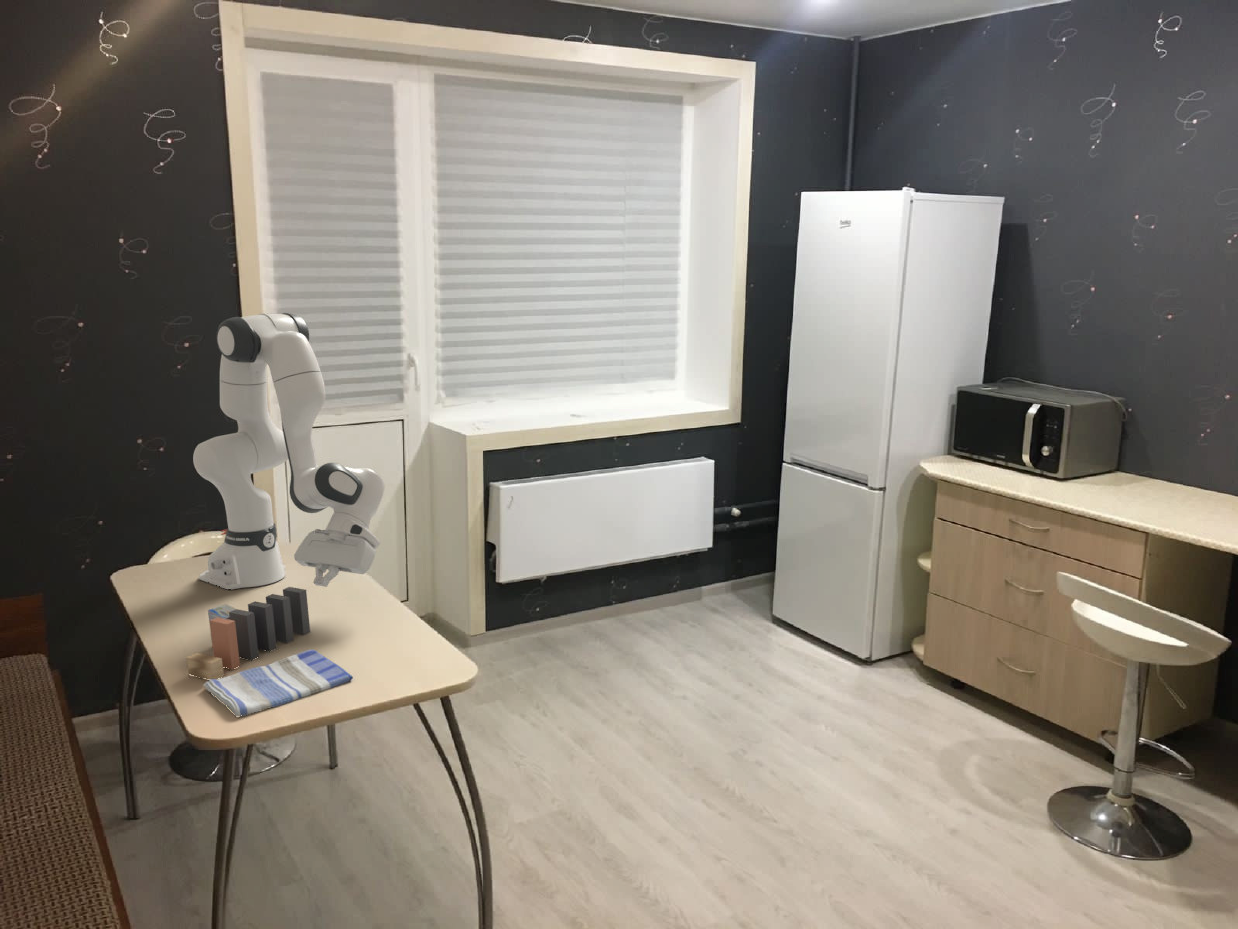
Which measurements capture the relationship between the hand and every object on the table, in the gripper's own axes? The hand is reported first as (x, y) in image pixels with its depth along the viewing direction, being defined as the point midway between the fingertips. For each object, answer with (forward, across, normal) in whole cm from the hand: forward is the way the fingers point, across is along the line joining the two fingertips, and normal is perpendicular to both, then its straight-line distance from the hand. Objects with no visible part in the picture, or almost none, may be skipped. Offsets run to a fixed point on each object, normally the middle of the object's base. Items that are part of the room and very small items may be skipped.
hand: (319, 585), depth 220 cm
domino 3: (+18, -1, -6) cm, 19 cm away
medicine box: (+21, -8, -8) cm, 23 cm away
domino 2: (+22, -1, -10) cm, 24 cm away
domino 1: (+26, -1, -13) cm, 29 cm away
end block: (+29, -1, -17) cm, 34 cm away
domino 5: (+11, -1, +1) cm, 11 cm away
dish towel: (+28, +16, -14) cm, 35 cm away
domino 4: (+15, -1, -2) cm, 15 cm away
